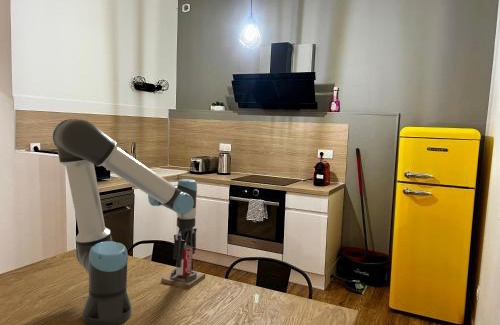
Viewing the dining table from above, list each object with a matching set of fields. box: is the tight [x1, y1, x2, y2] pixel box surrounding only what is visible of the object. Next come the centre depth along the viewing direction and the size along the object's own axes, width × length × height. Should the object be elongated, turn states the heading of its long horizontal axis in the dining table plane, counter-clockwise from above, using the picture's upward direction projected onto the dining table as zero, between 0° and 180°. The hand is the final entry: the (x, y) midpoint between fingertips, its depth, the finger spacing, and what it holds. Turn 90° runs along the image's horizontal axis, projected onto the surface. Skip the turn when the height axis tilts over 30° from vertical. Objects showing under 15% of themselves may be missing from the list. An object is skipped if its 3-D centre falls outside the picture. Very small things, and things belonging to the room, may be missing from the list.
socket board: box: [161, 267, 206, 290], centre depth 154 cm, size 13×13×3 cm
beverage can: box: [177, 244, 193, 277], centre depth 153 cm, size 6×6×12 cm
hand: (184, 271), depth 153 cm, fingers closed on beverage can, 6 cm apart
